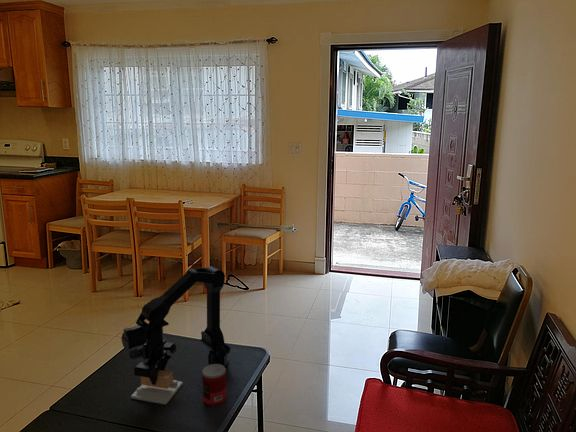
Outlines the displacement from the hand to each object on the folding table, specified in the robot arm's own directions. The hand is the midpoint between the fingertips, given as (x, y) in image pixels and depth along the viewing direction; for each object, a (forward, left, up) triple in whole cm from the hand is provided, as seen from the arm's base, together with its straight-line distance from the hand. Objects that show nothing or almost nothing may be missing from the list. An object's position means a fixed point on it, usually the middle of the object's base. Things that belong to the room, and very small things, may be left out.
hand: (157, 380), depth 157 cm
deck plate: (0, 0, -4) cm, 4 cm away
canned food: (-21, -1, -4) cm, 21 cm away
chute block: (0, 0, -1) cm, 1 cm away
